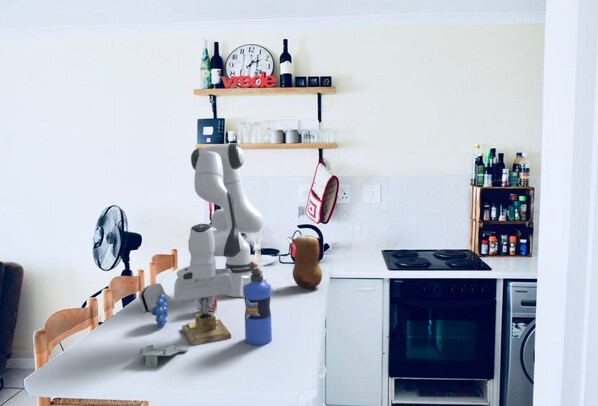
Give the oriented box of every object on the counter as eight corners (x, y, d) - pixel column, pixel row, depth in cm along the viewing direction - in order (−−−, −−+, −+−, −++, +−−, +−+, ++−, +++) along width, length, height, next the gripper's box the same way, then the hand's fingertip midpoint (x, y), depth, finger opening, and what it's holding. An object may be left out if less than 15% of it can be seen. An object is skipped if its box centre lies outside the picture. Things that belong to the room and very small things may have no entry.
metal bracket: (174, 349, 139) (126, 348, 140) (173, 369, 138) (125, 368, 139) (189, 343, 153) (146, 342, 154) (189, 362, 152) (144, 360, 153)
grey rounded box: (154, 312, 189) (145, 289, 188) (144, 315, 189) (135, 293, 189) (170, 299, 205) (162, 278, 205) (161, 302, 206) (153, 281, 205)
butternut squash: (322, 283, 225) (322, 233, 222) (321, 292, 212) (320, 238, 209) (294, 283, 226) (293, 233, 224) (291, 291, 213) (290, 238, 210)
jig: (219, 323, 175) (219, 306, 174) (231, 338, 161) (230, 320, 160) (182, 329, 170) (181, 312, 169) (190, 345, 155) (189, 326, 154)
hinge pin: (207, 320, 166) (207, 296, 165) (209, 322, 164) (208, 298, 163) (200, 321, 165) (199, 297, 164) (202, 324, 163) (201, 299, 162)
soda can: (220, 310, 190) (219, 281, 188) (211, 315, 183) (210, 286, 182) (205, 308, 192) (204, 280, 191) (196, 314, 185) (195, 285, 184)
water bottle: (261, 348, 152) (259, 273, 149) (239, 342, 157) (237, 270, 154) (277, 338, 160) (275, 267, 157) (256, 333, 165) (254, 264, 162)
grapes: (153, 321, 178) (151, 290, 177) (171, 320, 179) (170, 290, 178) (147, 332, 167) (145, 300, 166) (166, 331, 168) (164, 299, 166)
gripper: (229, 265, 170) (230, 302, 171) (172, 272, 161) (174, 310, 163) (234, 269, 164) (235, 307, 165) (175, 276, 156) (177, 316, 157)
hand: (204, 308), depth 164 cm, fingers closed on hinge pin, 3 cm apart
